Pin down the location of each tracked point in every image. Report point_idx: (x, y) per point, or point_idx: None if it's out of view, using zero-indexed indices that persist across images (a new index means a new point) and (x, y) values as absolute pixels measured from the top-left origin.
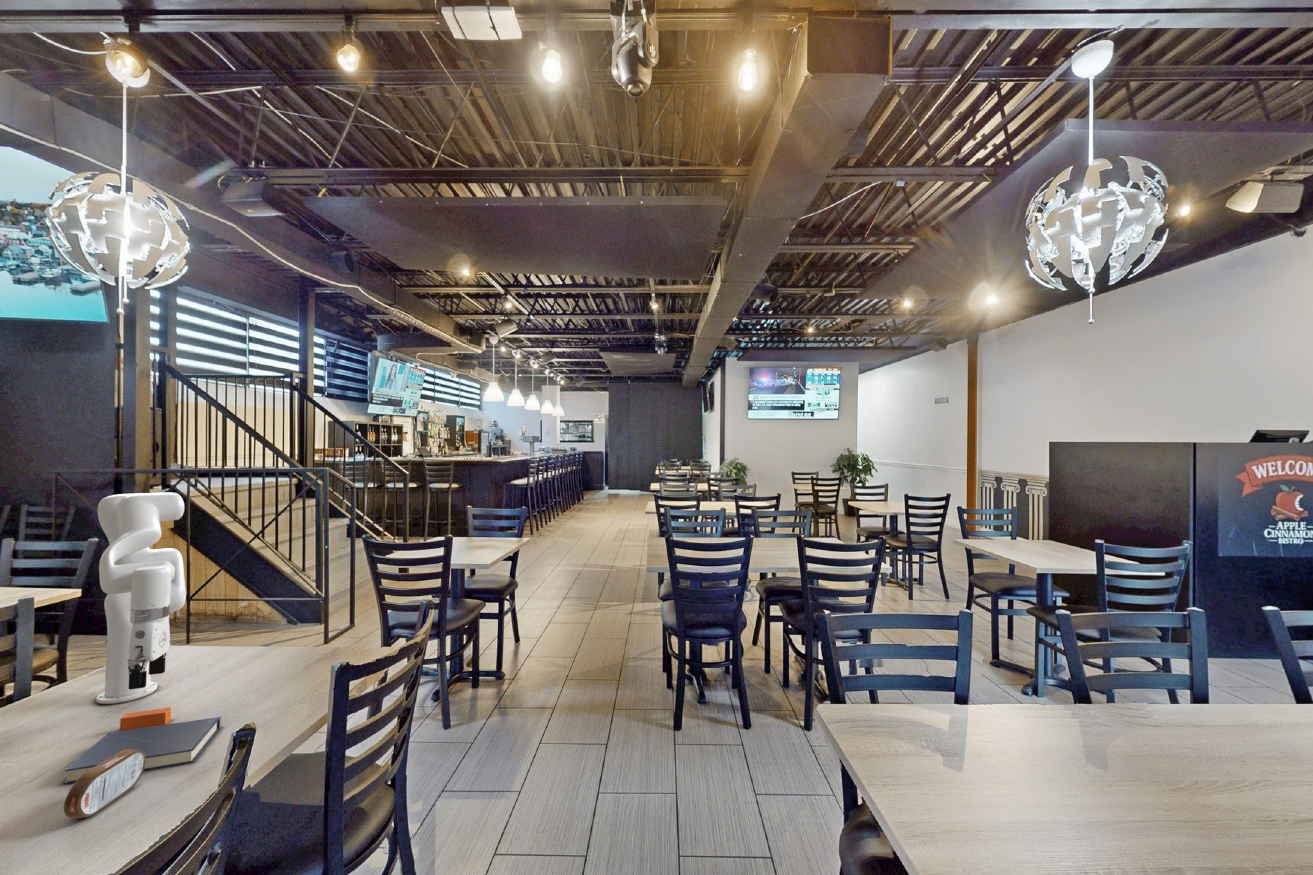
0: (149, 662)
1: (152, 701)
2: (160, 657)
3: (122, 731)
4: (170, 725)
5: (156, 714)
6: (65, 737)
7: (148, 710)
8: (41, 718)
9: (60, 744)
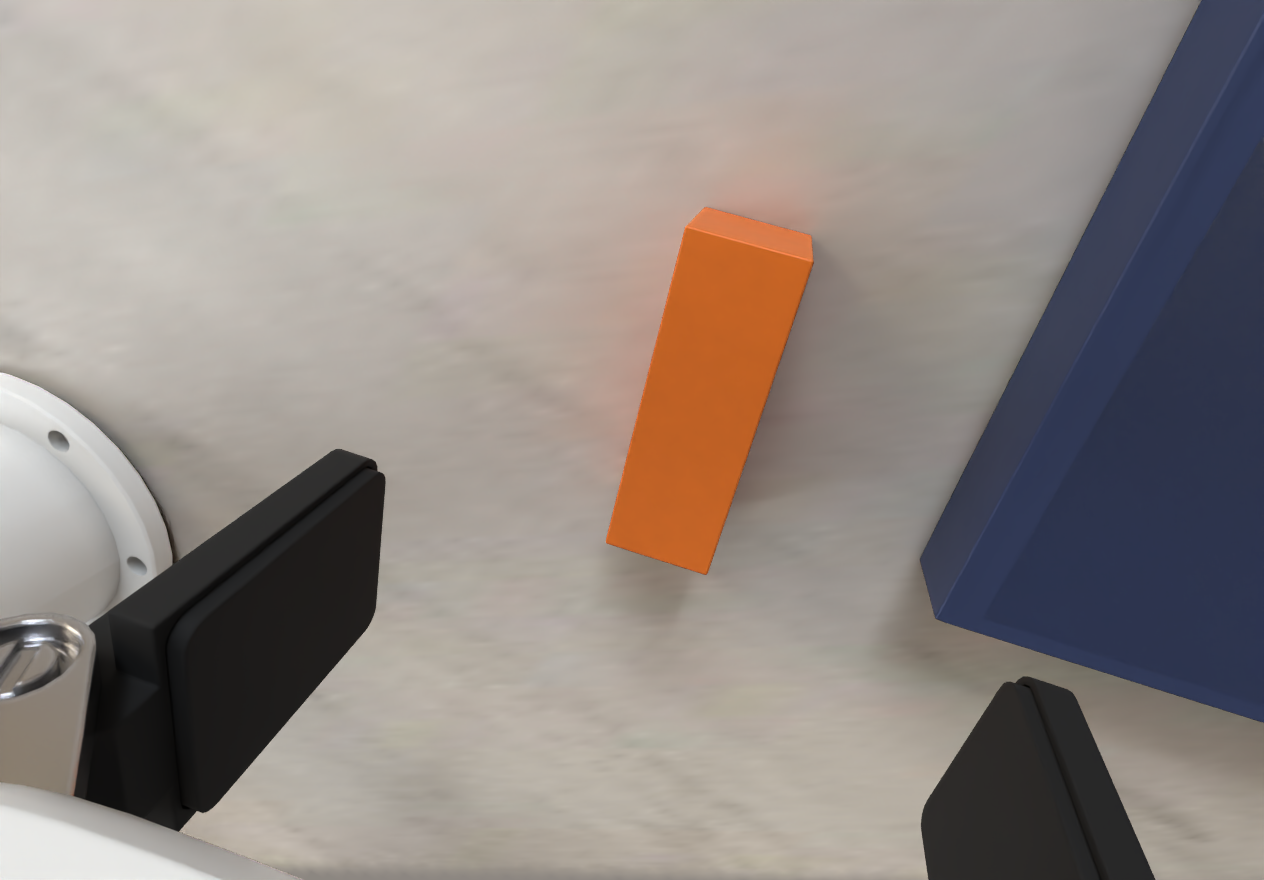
0: (231, 780)
1: (205, 372)
2: (141, 711)
3: (996, 541)
4: (1235, 169)
5: (788, 334)
6: (591, 726)
7: (645, 405)
8: (259, 795)
9: (688, 741)
